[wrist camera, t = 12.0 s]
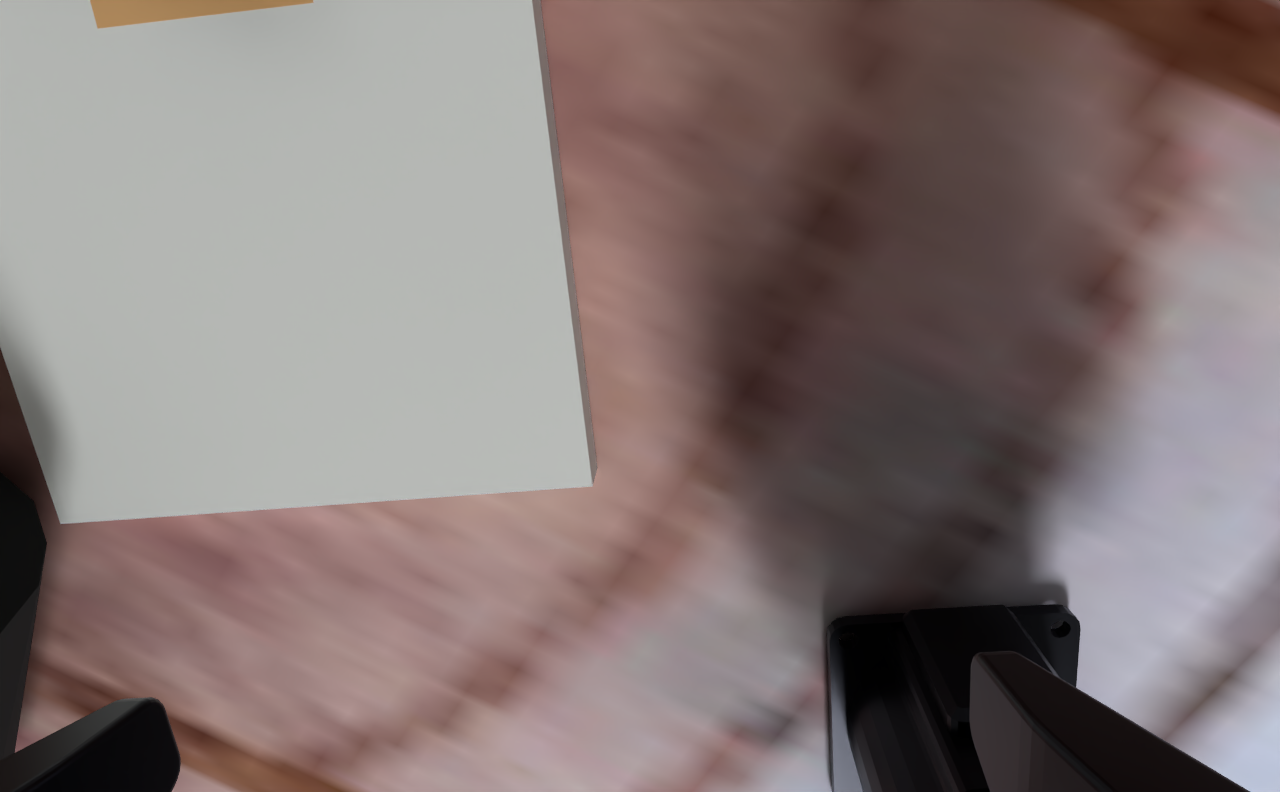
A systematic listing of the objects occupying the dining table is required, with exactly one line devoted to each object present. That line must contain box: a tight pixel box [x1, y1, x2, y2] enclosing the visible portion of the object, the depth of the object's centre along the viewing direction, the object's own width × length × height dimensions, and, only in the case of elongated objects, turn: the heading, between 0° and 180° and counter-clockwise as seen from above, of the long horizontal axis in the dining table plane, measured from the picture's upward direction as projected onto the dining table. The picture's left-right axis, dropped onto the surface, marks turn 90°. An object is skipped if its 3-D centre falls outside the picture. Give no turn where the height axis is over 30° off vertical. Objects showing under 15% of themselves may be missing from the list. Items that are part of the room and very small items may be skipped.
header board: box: [0, 0, 597, 524], centre depth 16 cm, size 22×14×4 cm, turn 6°
